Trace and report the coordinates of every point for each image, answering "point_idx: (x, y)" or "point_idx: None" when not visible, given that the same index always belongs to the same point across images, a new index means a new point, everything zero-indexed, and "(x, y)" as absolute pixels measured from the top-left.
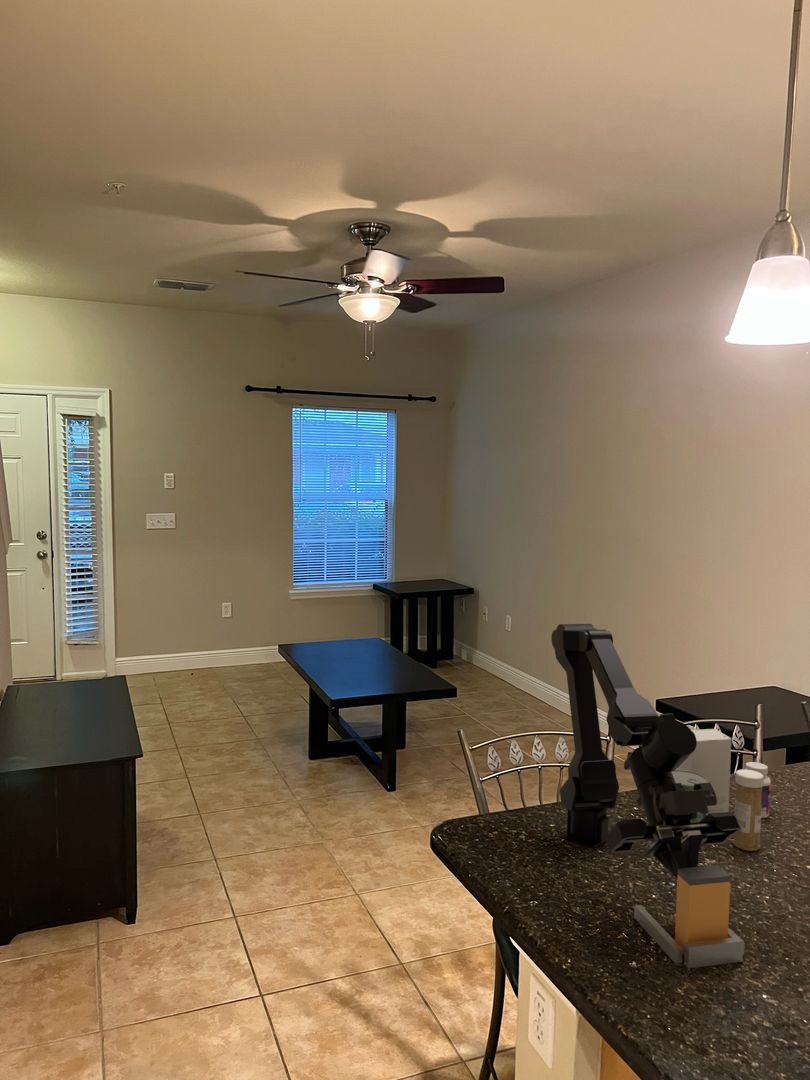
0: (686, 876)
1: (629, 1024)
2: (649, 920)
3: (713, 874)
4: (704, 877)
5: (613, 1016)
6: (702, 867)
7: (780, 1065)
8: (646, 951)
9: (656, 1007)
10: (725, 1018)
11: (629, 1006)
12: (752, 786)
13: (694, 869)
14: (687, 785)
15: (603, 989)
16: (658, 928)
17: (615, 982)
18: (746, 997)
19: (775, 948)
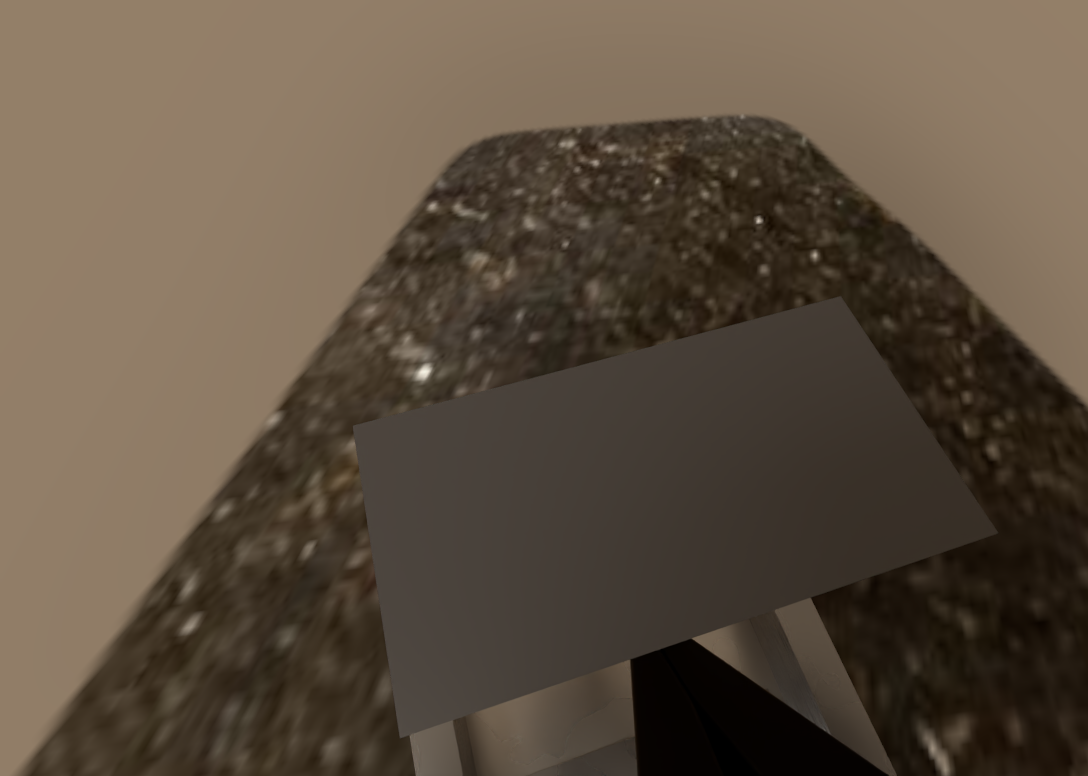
0: (880, 363)
1: (866, 222)
2: (866, 727)
3: (554, 437)
4: (681, 353)
5: (913, 244)
6: (652, 622)
7: (507, 144)
8: (821, 603)
9: (789, 288)
10: (590, 267)
11: (871, 284)
12: None
13: (774, 543)
14: None
15: (963, 348)
16: (814, 634)
17: (929, 386)
18: (488, 359)
19: (188, 711)
